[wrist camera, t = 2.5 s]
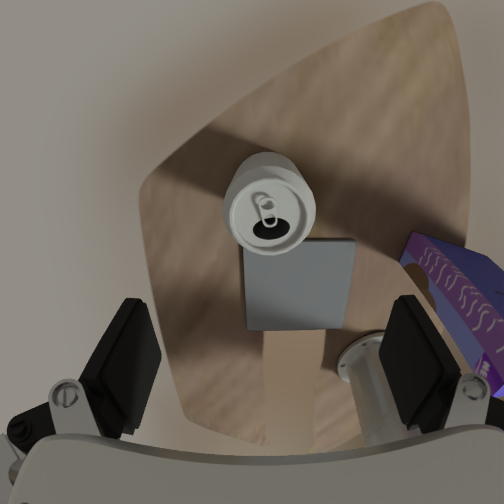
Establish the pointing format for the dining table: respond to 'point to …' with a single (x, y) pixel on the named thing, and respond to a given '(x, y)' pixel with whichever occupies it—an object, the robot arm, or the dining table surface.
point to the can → (268, 205)
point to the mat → (299, 286)
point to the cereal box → (463, 300)
